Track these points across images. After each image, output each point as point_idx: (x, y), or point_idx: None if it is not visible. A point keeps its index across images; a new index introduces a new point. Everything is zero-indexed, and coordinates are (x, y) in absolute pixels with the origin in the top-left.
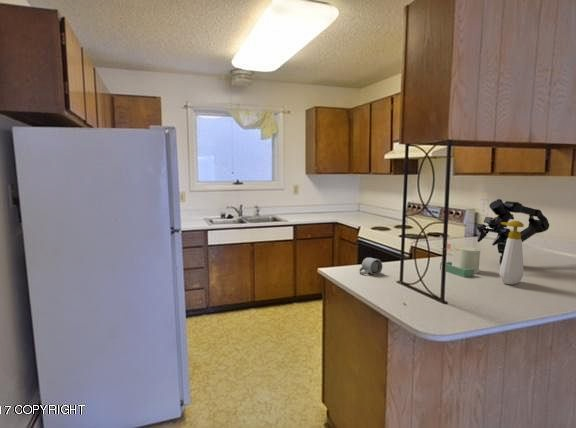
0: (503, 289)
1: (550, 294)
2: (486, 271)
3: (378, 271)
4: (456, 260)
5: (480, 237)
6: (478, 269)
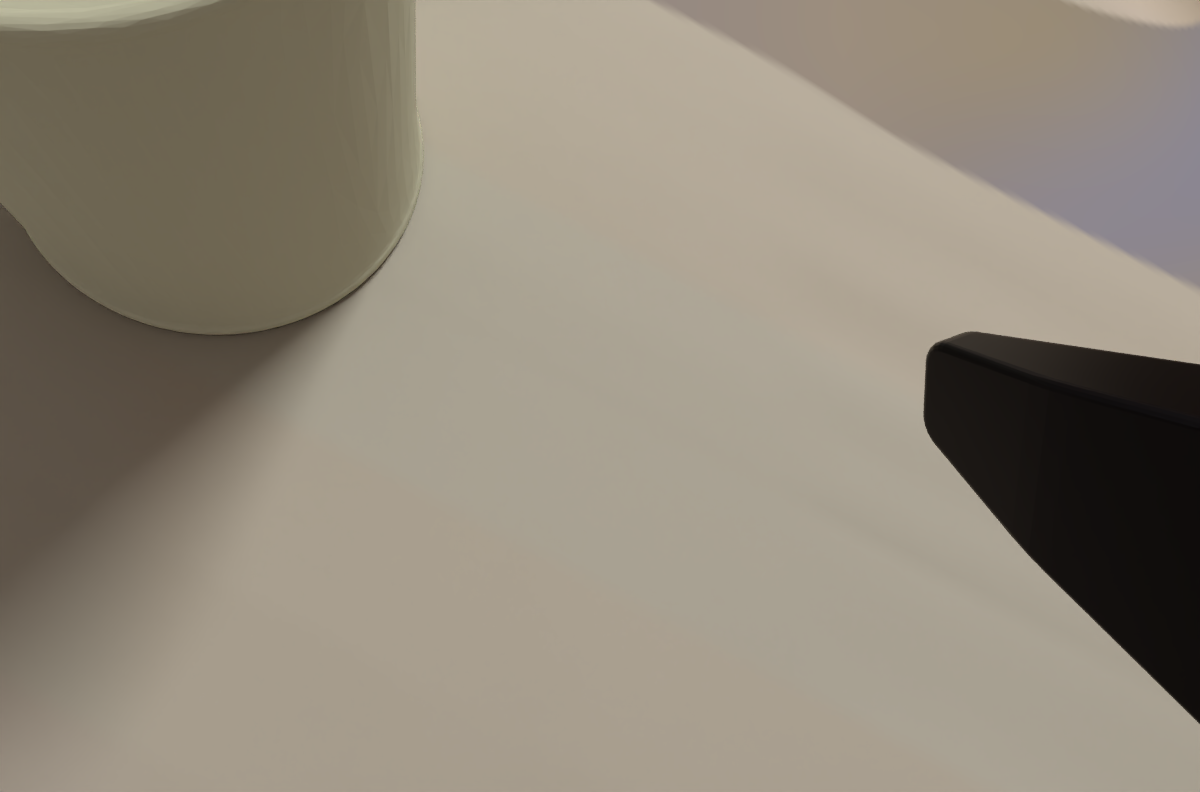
0: None
1: None
2: (156, 518)
3: None
4: (1052, 324)
5: (1187, 510)
6: (49, 252)
